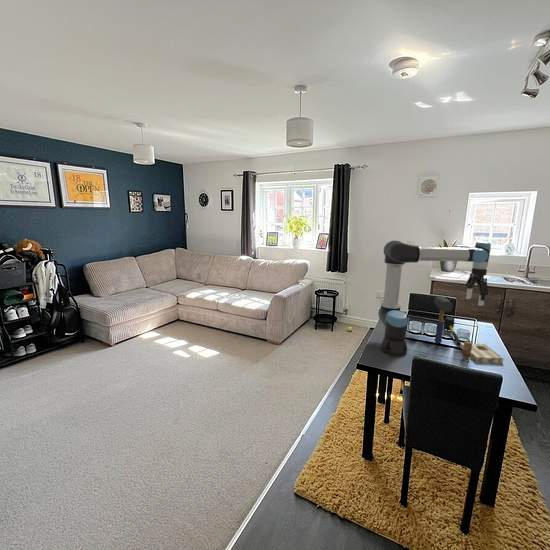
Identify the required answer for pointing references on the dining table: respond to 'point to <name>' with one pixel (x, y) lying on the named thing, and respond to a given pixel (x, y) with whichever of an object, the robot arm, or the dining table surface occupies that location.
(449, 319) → the mallet
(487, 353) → the board
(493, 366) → the dining table surface
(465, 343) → the peg
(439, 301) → the rubber mallet
